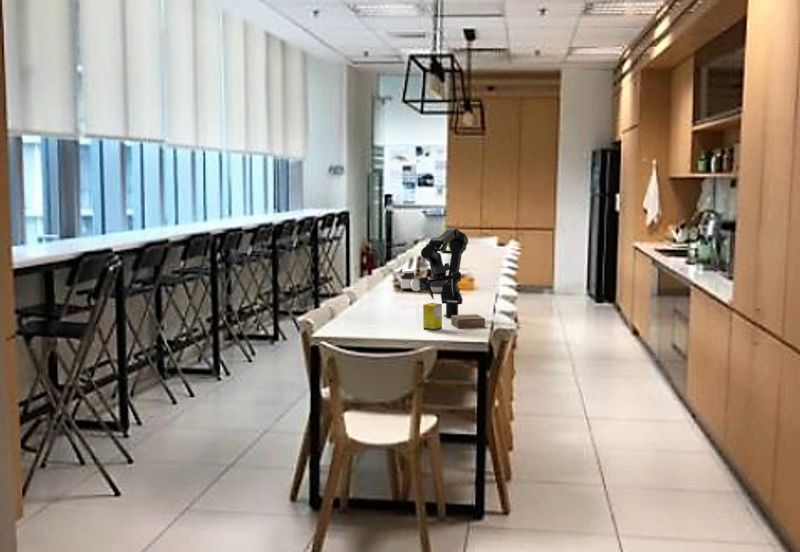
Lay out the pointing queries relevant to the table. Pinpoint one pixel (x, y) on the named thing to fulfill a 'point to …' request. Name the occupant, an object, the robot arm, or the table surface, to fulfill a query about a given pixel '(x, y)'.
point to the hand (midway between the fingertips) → (443, 297)
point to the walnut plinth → (467, 321)
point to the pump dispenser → (437, 285)
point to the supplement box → (432, 316)
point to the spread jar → (409, 281)
